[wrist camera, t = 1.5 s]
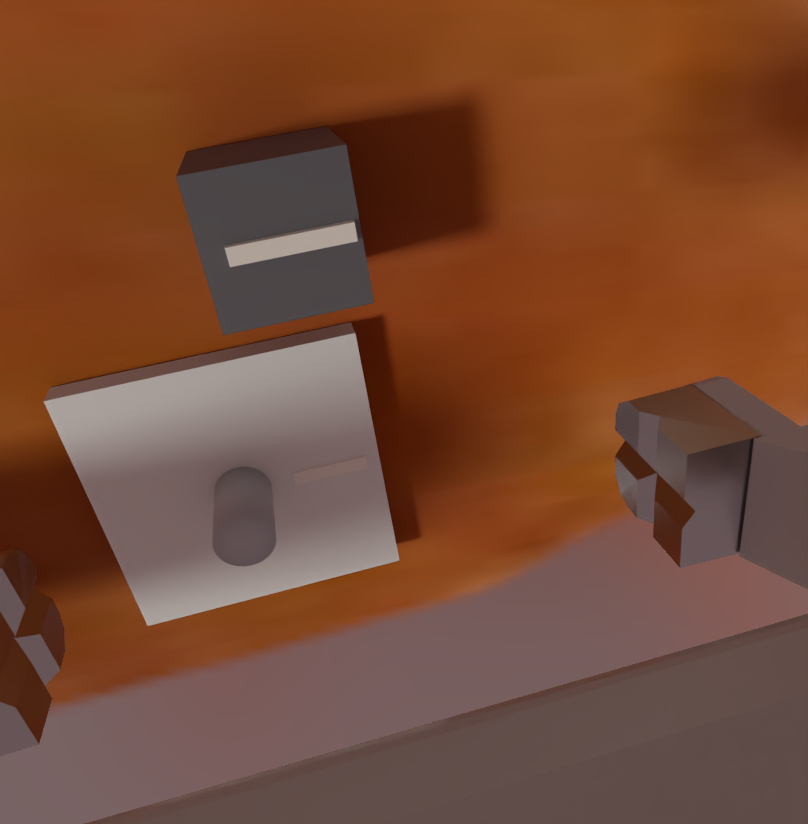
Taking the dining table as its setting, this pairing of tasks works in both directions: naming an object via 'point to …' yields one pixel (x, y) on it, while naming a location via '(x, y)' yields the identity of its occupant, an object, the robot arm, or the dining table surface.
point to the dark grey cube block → (276, 228)
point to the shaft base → (232, 470)
